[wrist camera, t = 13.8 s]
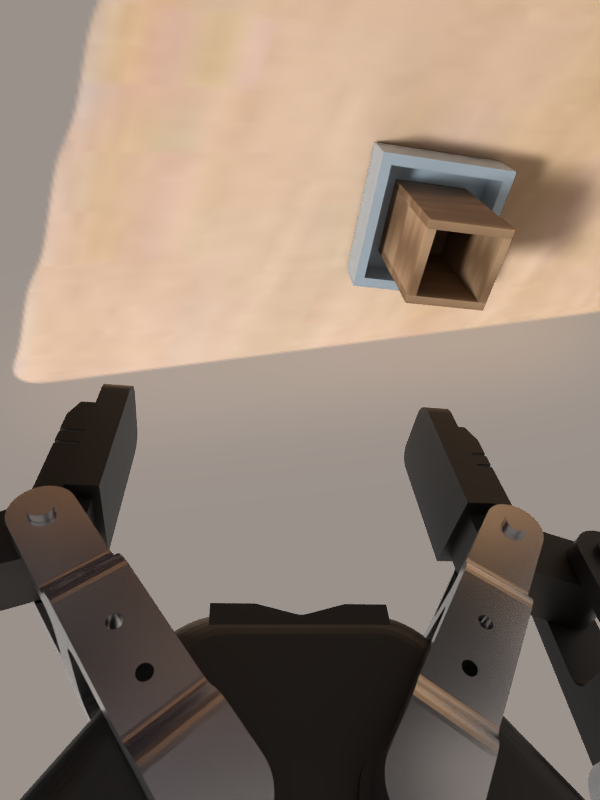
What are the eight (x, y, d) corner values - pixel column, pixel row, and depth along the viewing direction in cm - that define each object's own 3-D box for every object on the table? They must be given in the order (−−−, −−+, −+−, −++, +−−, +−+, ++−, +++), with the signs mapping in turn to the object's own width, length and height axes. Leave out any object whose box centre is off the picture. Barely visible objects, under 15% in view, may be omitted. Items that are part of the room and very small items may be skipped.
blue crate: (374, 142, 39) (383, 151, 36) (499, 161, 41) (516, 171, 38) (347, 269, 46) (353, 285, 43) (455, 281, 47) (468, 297, 44)
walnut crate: (395, 178, 40) (430, 219, 32) (465, 188, 41) (515, 230, 33) (378, 250, 44) (405, 302, 36) (442, 257, 45) (482, 310, 37)
